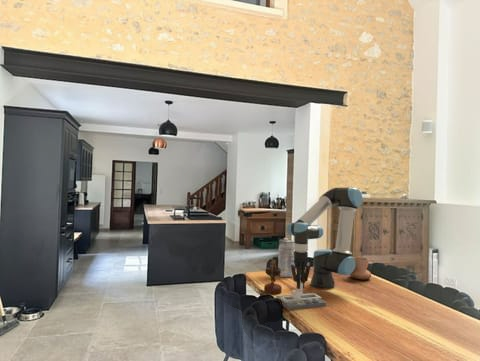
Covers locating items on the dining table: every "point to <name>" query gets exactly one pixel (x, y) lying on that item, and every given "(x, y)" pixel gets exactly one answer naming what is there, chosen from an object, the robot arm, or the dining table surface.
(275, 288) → the brown rounded tall piece
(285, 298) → the console
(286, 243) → the grey canister
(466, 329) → the dining table surface
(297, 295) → the fader
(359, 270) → the ceramic jug
